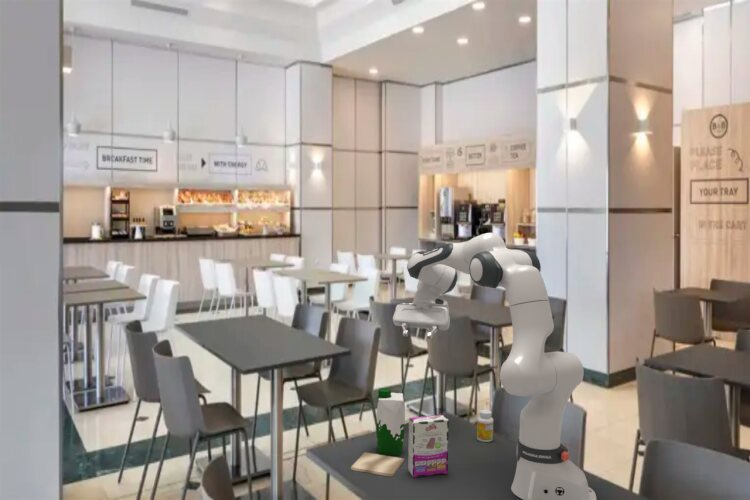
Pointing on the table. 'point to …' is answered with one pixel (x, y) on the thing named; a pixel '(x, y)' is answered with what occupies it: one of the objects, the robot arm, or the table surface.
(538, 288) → the robot arm
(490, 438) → the supplement bottle
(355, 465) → the oak board
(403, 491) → the table surface
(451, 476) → the table surface
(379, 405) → the soya milk
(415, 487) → the table surface
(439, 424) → the candy bar box
